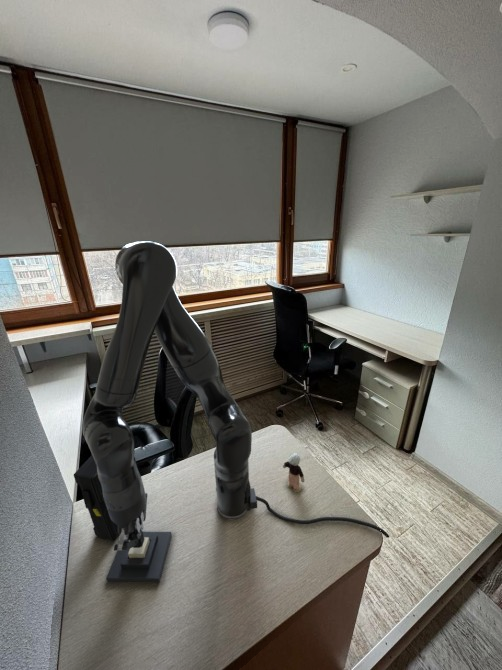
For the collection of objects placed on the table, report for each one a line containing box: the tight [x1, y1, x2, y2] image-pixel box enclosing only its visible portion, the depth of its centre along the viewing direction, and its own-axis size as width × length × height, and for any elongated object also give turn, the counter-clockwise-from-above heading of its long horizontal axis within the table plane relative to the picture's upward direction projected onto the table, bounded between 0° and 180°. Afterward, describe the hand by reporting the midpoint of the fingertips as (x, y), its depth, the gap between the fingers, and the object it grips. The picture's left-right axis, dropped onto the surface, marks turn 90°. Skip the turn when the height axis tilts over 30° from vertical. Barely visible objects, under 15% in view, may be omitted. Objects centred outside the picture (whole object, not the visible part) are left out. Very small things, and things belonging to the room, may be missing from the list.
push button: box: [105, 531, 173, 584], centre depth 65 cm, size 12×10×4 cm
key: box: [128, 537, 150, 558], centre depth 64 cm, size 4×4×2 cm
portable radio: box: [73, 454, 119, 542], centre depth 67 cm, size 8×6×25 cm
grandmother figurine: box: [282, 453, 305, 493], centre depth 81 cm, size 8×4×13 cm, turn 58°
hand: (139, 543), depth 64 cm, fingers closed
